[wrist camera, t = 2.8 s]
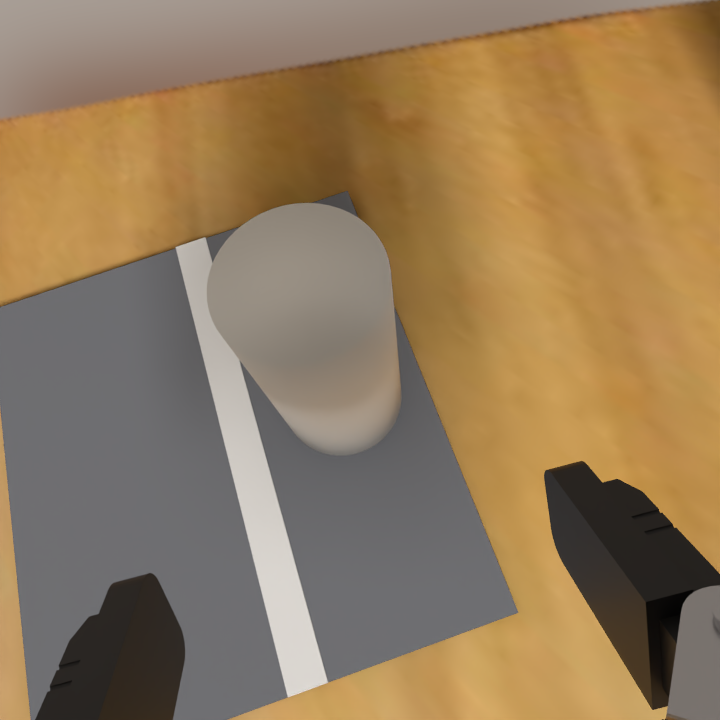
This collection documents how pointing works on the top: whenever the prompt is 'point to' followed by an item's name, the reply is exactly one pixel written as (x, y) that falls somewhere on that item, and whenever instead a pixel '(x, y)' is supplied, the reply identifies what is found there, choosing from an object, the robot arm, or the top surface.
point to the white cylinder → (313, 322)
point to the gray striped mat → (221, 497)
